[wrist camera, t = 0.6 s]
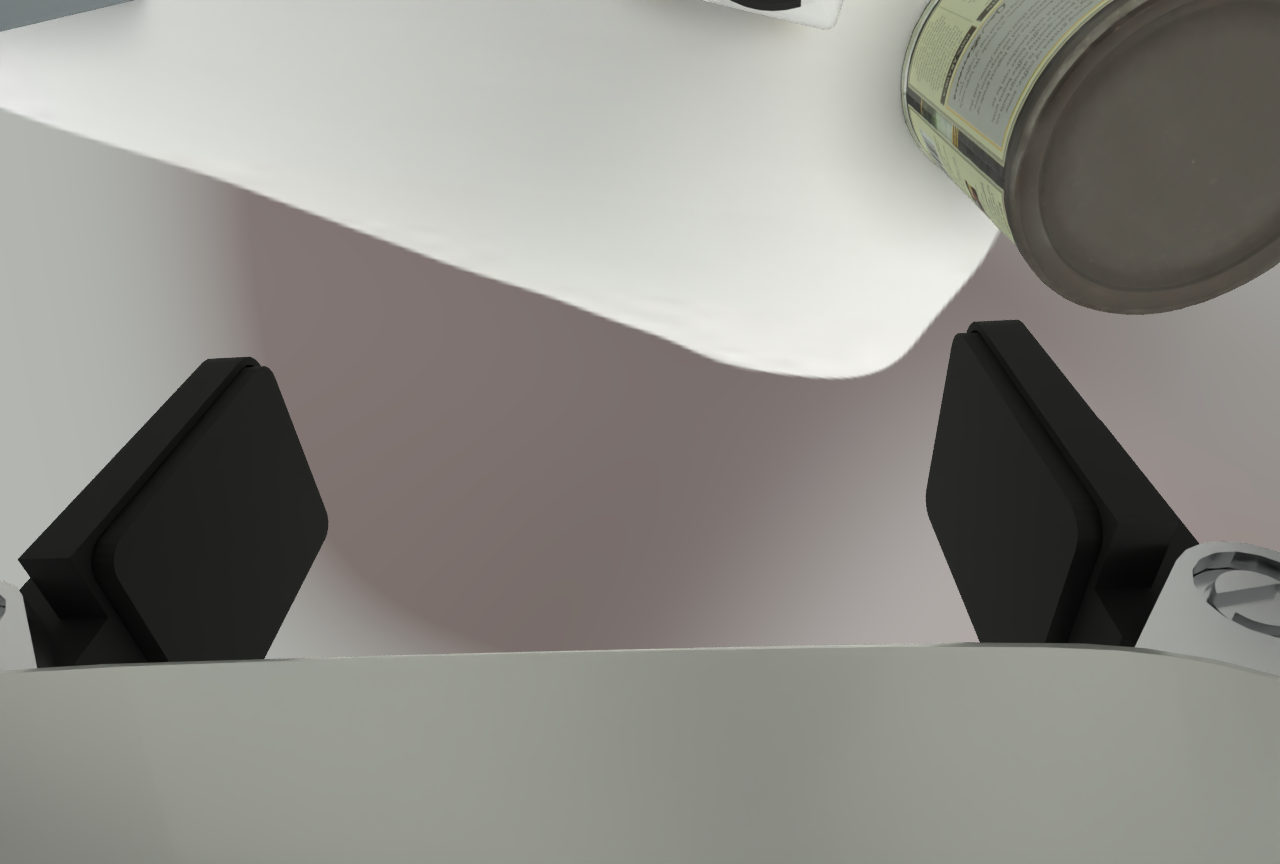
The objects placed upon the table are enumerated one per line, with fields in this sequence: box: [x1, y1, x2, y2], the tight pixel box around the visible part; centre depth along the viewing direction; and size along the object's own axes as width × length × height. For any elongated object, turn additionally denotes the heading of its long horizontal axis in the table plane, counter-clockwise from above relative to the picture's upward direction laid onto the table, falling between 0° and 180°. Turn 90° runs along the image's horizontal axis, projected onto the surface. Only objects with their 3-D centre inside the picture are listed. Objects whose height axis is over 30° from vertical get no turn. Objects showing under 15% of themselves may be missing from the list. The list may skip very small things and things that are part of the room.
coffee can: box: [901, 0, 1280, 315], centre depth 29 cm, size 10×10×14 cm
